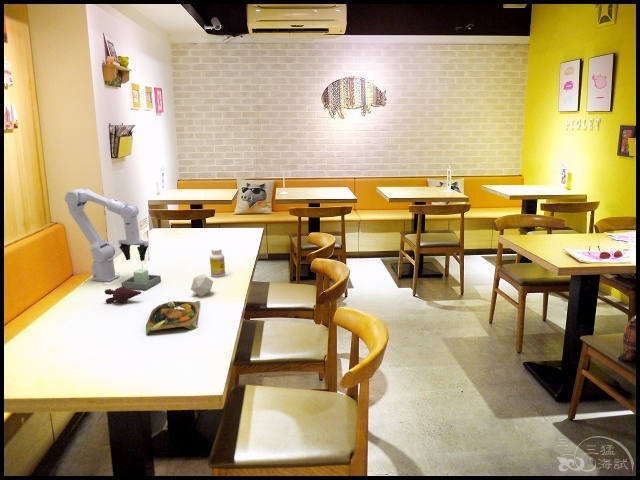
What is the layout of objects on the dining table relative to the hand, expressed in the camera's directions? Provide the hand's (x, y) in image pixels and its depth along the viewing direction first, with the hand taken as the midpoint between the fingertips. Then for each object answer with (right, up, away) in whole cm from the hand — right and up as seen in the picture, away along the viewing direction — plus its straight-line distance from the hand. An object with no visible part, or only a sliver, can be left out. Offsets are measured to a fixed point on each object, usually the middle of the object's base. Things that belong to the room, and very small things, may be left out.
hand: (135, 260), depth 228 cm
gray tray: (+5, -11, -6) cm, 14 cm away
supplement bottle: (+37, -8, +6) cm, 39 cm away
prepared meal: (+31, -21, -43) cm, 57 cm away
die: (+36, -14, -19) cm, 43 cm away
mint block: (+5, -10, -6) cm, 13 cm away
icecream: (+5, -16, -26) cm, 31 cm away
